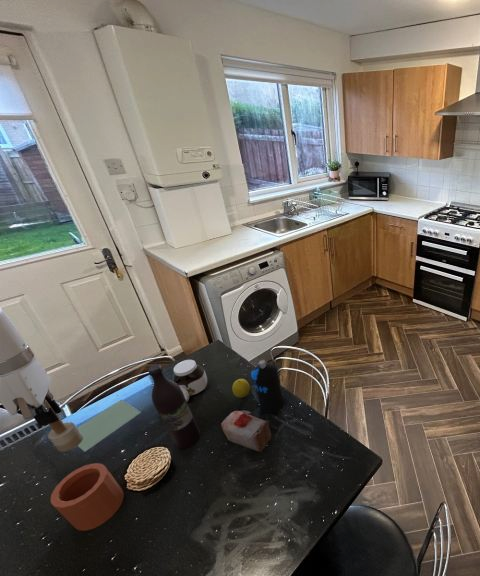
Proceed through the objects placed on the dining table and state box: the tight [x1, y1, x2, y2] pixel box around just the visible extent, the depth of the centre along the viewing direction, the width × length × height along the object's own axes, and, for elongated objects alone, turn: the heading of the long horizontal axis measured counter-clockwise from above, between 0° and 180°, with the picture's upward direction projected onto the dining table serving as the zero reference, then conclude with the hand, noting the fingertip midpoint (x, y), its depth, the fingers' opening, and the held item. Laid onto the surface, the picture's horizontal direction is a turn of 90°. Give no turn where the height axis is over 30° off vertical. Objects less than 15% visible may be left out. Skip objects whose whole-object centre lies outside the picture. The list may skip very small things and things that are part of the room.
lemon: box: [231, 378, 251, 399], centre depth 110 cm, size 6×6×8 cm
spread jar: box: [171, 359, 208, 402], centre depth 110 cm, size 12×11×12 cm
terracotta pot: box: [50, 462, 125, 532], centre depth 78 cm, size 10×10×11 cm
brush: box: [35, 399, 83, 453], centre depth 75 cm, size 5×5×15 cm
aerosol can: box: [250, 359, 285, 415], centre depth 104 cm, size 8×8×20 cm
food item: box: [220, 409, 272, 453], centre depth 95 cm, size 14×8×10 cm, turn 71°
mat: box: [77, 399, 142, 453], centre depth 102 cm, size 16×12×1 cm
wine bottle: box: [148, 364, 201, 450], centre depth 90 cm, size 7×7×30 cm
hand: (51, 418), depth 74 cm, fingers closed on brush
